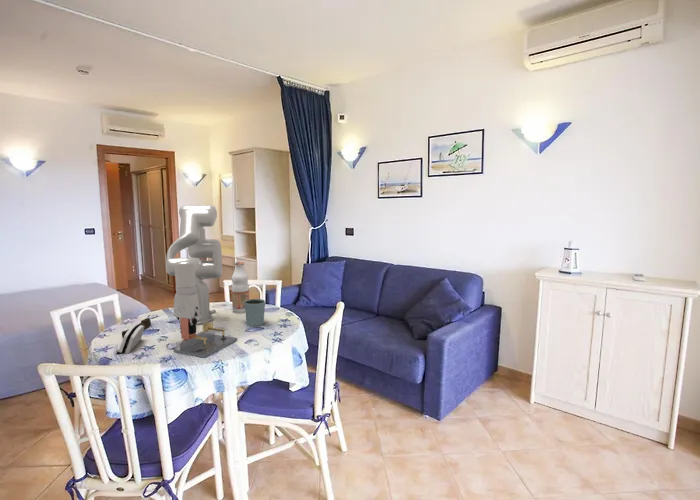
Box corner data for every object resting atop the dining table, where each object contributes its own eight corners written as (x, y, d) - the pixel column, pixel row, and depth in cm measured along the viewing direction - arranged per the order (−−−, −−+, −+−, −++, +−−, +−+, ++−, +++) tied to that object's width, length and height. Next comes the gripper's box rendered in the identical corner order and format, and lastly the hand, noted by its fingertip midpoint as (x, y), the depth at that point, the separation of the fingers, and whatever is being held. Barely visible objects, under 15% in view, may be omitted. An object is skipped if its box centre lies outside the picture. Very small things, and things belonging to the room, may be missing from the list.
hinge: (128, 340, 165) (135, 319, 165) (139, 342, 166) (146, 322, 166) (114, 354, 149) (121, 331, 149) (126, 357, 150) (134, 334, 150)
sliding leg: (189, 341, 158) (187, 315, 157) (209, 345, 154) (208, 317, 153) (181, 345, 155) (180, 317, 153) (202, 348, 151) (201, 320, 149)
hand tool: (129, 339, 167) (129, 329, 166) (121, 339, 167) (120, 329, 167) (155, 326, 185) (155, 317, 185) (148, 325, 186) (147, 316, 185)
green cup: (243, 323, 189) (242, 300, 187) (262, 320, 194) (261, 297, 192) (248, 328, 180) (247, 304, 178) (268, 325, 185) (267, 302, 183)
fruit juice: (230, 313, 206) (228, 263, 202) (235, 308, 215) (233, 261, 212) (246, 313, 206) (244, 263, 202) (251, 308, 215) (250, 261, 211)
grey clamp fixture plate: (208, 336, 170) (208, 320, 169) (237, 340, 164) (236, 324, 163) (173, 352, 152) (172, 335, 151) (204, 357, 146) (203, 340, 145)
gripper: (163, 290, 153) (166, 333, 155) (195, 294, 147) (197, 338, 149) (177, 286, 159) (180, 327, 162) (208, 289, 153) (210, 332, 156)
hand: (188, 332), depth 155 cm, fingers closed on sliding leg, 4 cm apart
